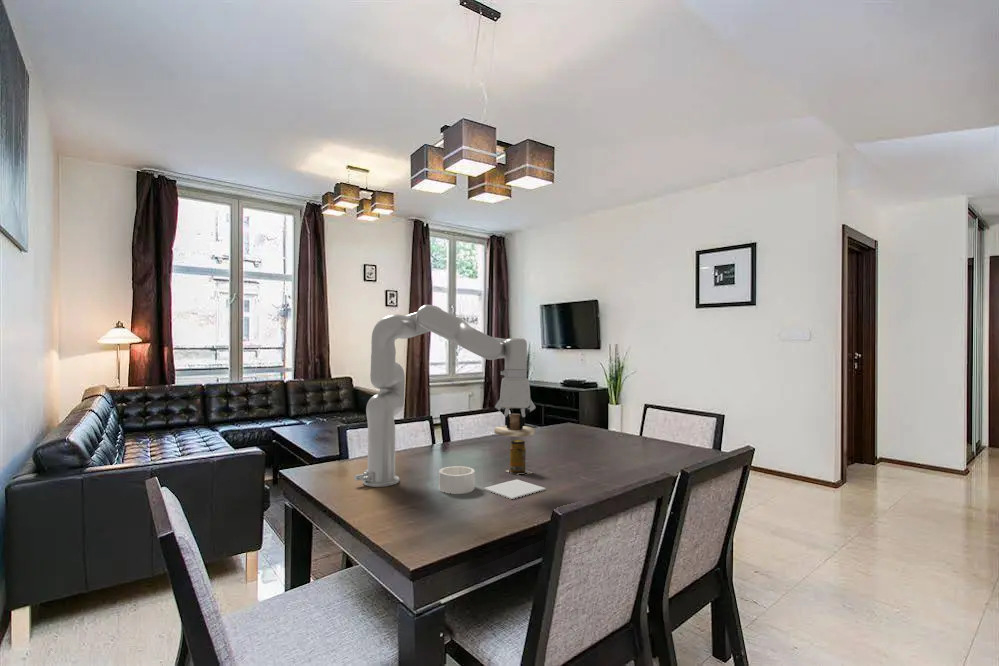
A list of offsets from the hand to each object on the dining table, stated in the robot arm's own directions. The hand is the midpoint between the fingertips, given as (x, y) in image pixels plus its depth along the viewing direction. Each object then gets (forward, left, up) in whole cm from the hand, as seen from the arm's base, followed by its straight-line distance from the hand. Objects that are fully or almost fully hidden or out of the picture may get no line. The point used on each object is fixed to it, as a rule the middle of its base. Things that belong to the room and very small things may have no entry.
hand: (514, 427), depth 171 cm
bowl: (-14, +14, -21) cm, 29 cm away
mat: (0, 0, -21) cm, 21 cm away
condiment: (+17, +15, -21) cm, 31 cm away
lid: (0, 0, -2) cm, 2 cm away
